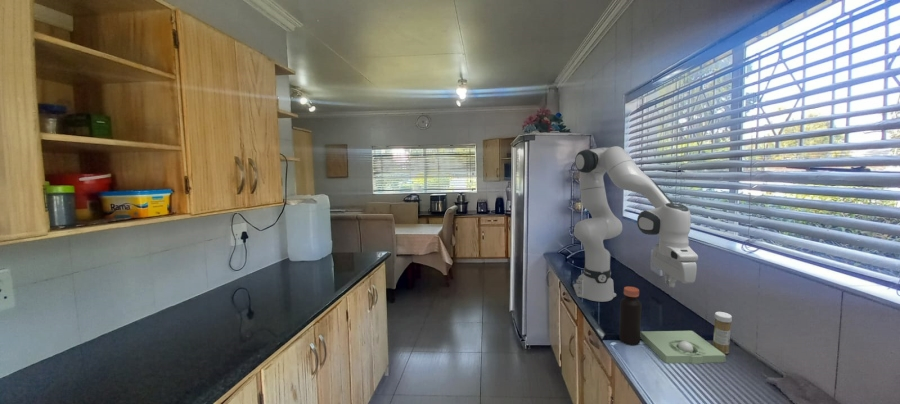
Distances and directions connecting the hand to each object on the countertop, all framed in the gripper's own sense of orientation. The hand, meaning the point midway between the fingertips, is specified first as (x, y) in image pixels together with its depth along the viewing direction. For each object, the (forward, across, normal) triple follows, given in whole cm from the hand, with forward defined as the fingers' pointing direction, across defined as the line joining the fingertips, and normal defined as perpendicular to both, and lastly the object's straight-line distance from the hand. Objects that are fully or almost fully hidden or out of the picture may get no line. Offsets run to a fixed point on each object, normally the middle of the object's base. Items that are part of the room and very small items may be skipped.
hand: (669, 285), depth 124 cm
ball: (+18, +10, 0) cm, 21 cm away
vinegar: (+21, +2, -14) cm, 25 cm away
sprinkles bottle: (+20, +9, +13) cm, 26 cm away
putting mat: (+20, +8, 0) cm, 22 cm away
